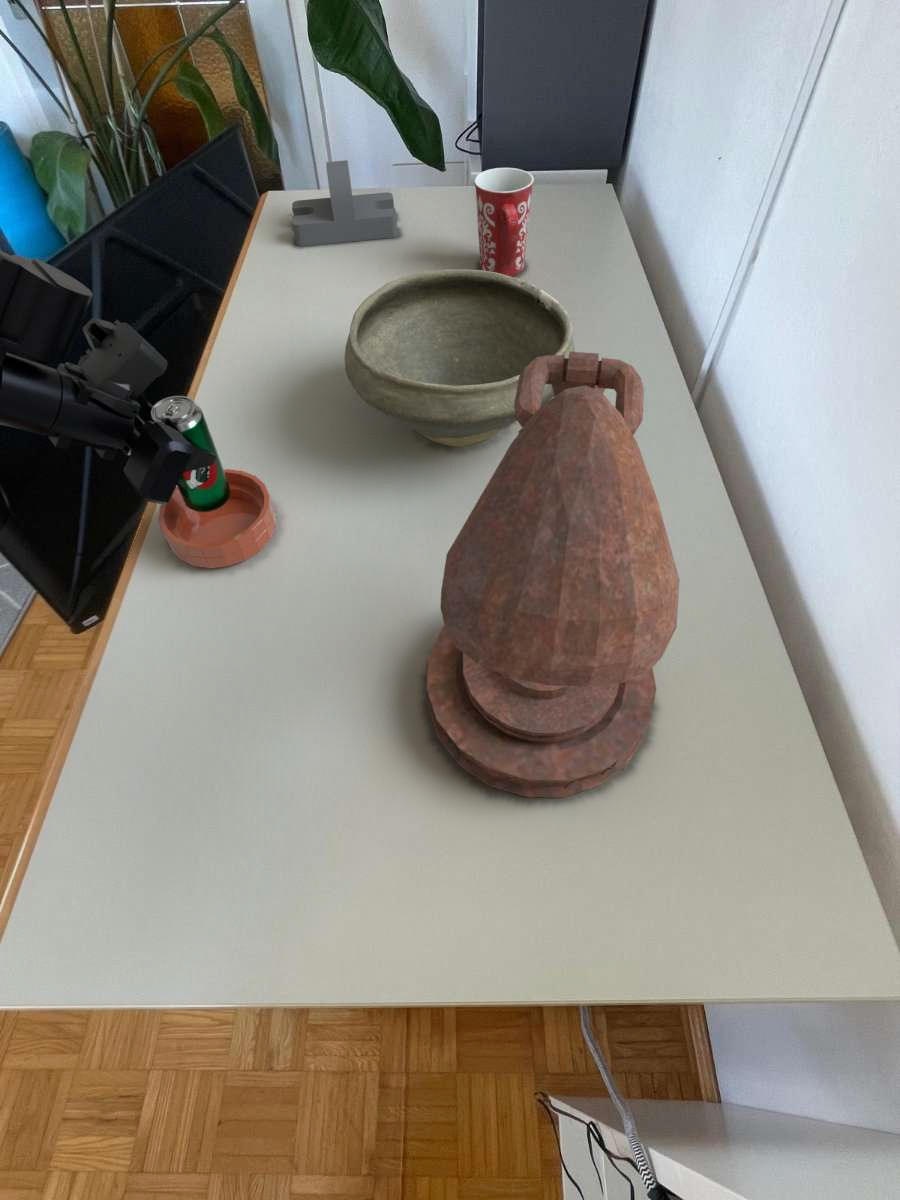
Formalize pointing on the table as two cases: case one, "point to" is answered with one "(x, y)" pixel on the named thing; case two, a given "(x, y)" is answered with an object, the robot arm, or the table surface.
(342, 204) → the bracket
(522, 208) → the mug
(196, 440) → the soda can
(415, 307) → the bowl
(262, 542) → the dish
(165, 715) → the table surface
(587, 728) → the rusty bell weight
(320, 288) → the table surface
